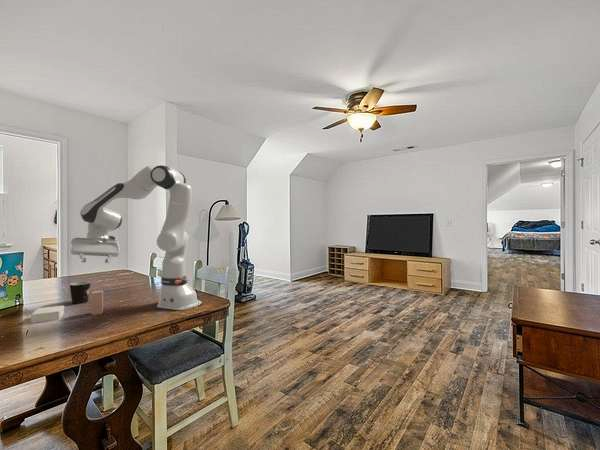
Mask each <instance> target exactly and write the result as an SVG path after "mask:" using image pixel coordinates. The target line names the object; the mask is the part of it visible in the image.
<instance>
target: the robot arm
mask: <svg viewBox="0 0 600 450" xmlns="http://www.w3.org/2000/svg"><path fill="white" fill-rule="evenodd" d="M186 182H187V179H186V177H185V175H184V174H183V173H182V172H181V171H178V170H177V169H176V168H173V167H170V166H167V165H156V166H151V165H148V166H145V167H143V168H142V169H141V170H140V171H138V172H137V173H136V174H135V175H134V176H133V177H132V178H131V179H130V180H128V181H125V182H120V183H117V184H114V185H113V186H111V187H110V188H108V189H107V190H106V191H104V192H103V193H102V194H101V195H99V196H98V197H96V198H95V199H94V200H92V201H90V202H88V203H87V204H85V205H84V206H83V207H82V208H81V210H80V216H81V219H82V220H83V221H84V222H86V223H87V224H88V225H87V229H88V231H87V233H86V238H85V237H84V238H83V237H75V238H72V239H71V243H70V244H71V245H72V247H71V250H70V253H71V255H72V256H73V255H74V256H78V257H79V258H80V259H81V263H86V262H87V257H85V256H92V257H93V256H94V257H95V256H96V257H107V258H105V259H104V263H105V264H109V263H110V260H111V259H112V257H116V258H117V257H119V256H120V253H121V249H120V244H119V242H118V237H117V236H115V235H114V236H113V235H111V234H109V232H112V231H115V230H117V229H119V228H120V227H121V226H122V223H123V217H122V214H120V213H119V212H117V211H115V210H111V209H109V208H106V206H108V204H111V202H113V201H114V200H116V199H129V200H130V199H131V200H143V199H145V198H146V197H148V196H149V195H151V193H152V192H153V191H154V190H155V189H156V187H160V188H162V189H164V190H168V191H169V195H170V196H169V200H168V206H167V212H166V216H165V221H164V222H163V225H162V228H161V229H160V230H161V231H160V233H159V234H158V236H157V239H156V246H157V247H158V249H160V250H161V251H164V258H163V260H162V264H161V266H162V267H161V268H162V269H161V270H162V271H161V272H162V273H161V278H160V279H161V280H160V284H161V286H160V290H159V295H158V303H157V304H156V308H160V309H167V310H175V311H186V310H191V309H193V307H194V308H196V307H199V306H201V305H202V304H203V302H202V301H201V300H199V299H198V296H197V292H196V291H195V290H194V289H193V288H192V286H190V285H189V283H188V281H189V280H190V279H189V277H187V276H186V259H187V253H188V248H189V247H188V246H189V242H190V235H189V234H188V232H186V229H187V225H188V223H189V220H190V216H191V211H192V205H193V204H192V203H193V189H192V187H191V185H190V184H187V183H186ZM201 303H202V304H201ZM200 304H201V305H200ZM198 305H199V306H198Z"/></svg>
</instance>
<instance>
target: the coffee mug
mask: <svg viewBox="0 0 600 450" xmlns="http://www.w3.org/2000/svg"><path fill="white" fill-rule="evenodd" d="M90 289H91V281H89V280H88V281H87V280H86V281H85V280H84V281H83V280H81V281H74V282H71V283H69V291H70V296H71V304H73V305H82V304H86V303H88V302H89V295H90Z"/></svg>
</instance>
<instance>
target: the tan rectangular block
mask: <svg viewBox="0 0 600 450" xmlns="http://www.w3.org/2000/svg"><path fill="white" fill-rule="evenodd" d="M103 313H104V290H93V291H92V292H91V316H95V315H101V314H103Z"/></svg>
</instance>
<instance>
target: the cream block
mask: <svg viewBox="0 0 600 450" xmlns="http://www.w3.org/2000/svg"><path fill="white" fill-rule="evenodd" d="M64 314H65V305H55V306H47V307H39V308H36V310H34V311H33V312H32V313H31V314H30V324H35V323H37V322H38V323H44V322H52V321H53V322H54V321H59V320H60V319H61V318H62V317H63V315H64Z"/></svg>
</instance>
